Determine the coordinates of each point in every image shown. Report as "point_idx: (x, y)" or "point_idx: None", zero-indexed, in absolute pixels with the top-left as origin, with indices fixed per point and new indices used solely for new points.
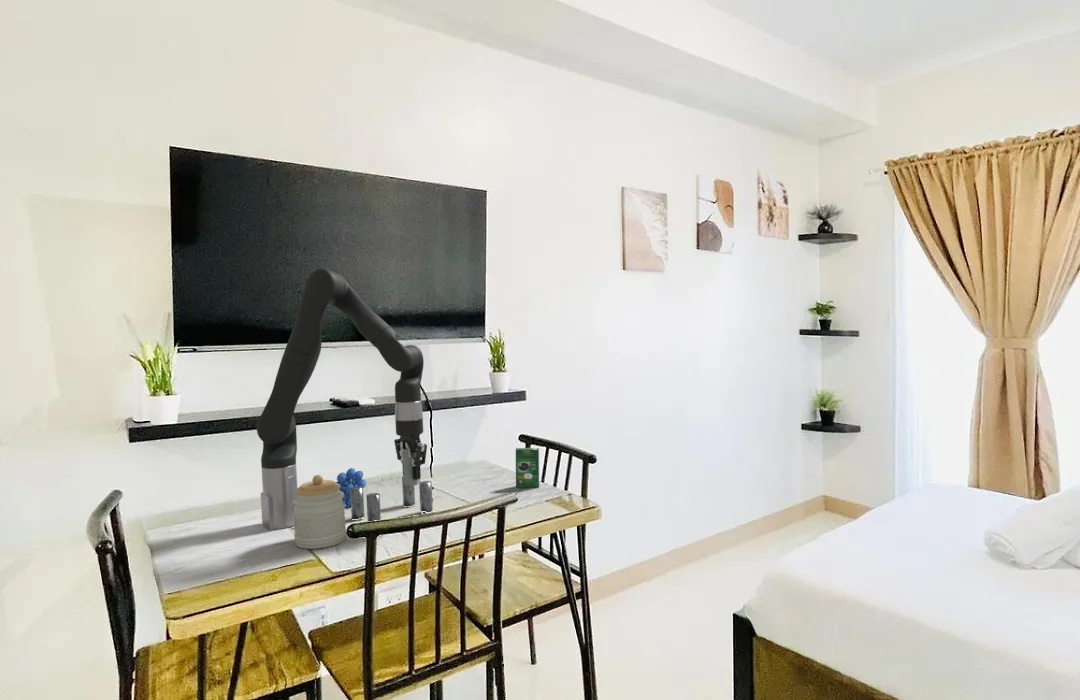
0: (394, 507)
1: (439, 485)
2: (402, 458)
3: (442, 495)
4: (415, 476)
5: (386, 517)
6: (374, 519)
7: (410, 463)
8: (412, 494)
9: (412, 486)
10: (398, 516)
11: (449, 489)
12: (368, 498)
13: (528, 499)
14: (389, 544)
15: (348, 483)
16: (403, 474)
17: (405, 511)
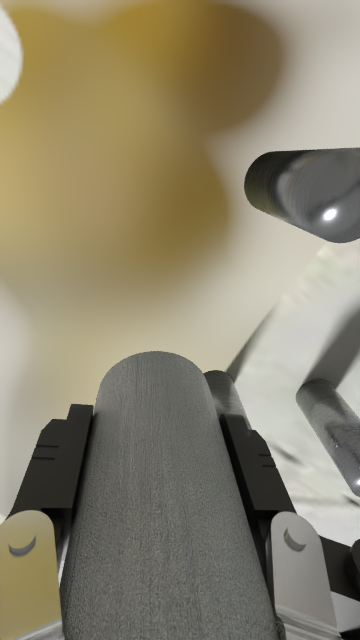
0: (349, 361)
1: (349, 518)
2: (291, 580)
3: (285, 485)
4: (57, 429)
5: (304, 282)
6: (264, 166)
7: (84, 542)
8: (315, 425)
9: (331, 451)
10: (270, 313)
11: (302, 515)
12: (347, 148)
13: (60, 565)
14: (6, 37)
15: None
16: (235, 421)
17: (285, 356)
